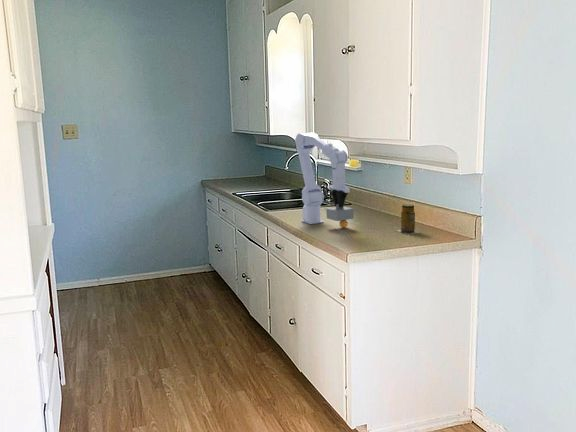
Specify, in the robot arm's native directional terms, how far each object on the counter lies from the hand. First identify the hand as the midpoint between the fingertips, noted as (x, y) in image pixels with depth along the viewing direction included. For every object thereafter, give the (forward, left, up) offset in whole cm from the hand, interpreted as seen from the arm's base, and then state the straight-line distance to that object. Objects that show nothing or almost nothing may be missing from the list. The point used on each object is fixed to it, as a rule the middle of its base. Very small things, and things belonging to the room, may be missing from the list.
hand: (339, 206), depth 263 cm
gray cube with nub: (0, 0, -6) cm, 6 cm away
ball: (0, +2, -8) cm, 9 cm away
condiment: (+25, +20, -11) cm, 34 cm away
